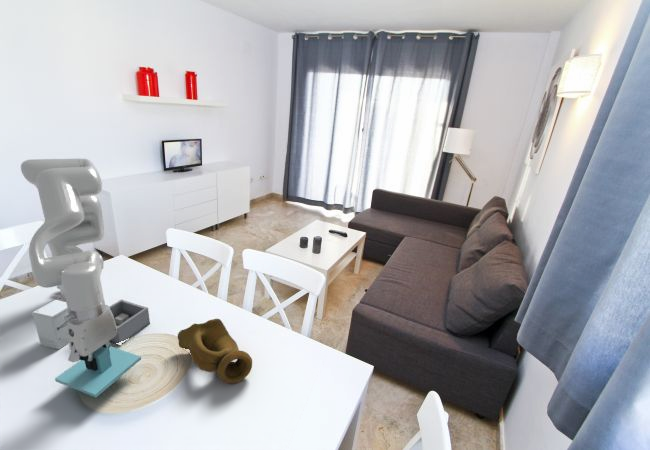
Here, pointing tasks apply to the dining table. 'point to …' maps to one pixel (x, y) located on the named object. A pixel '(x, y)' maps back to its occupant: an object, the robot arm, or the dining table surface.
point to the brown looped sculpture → (215, 350)
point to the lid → (99, 371)
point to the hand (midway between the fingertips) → (98, 363)
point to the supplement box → (52, 324)
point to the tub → (128, 319)
